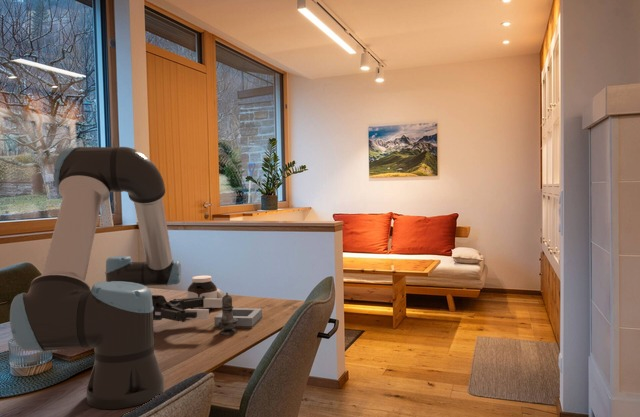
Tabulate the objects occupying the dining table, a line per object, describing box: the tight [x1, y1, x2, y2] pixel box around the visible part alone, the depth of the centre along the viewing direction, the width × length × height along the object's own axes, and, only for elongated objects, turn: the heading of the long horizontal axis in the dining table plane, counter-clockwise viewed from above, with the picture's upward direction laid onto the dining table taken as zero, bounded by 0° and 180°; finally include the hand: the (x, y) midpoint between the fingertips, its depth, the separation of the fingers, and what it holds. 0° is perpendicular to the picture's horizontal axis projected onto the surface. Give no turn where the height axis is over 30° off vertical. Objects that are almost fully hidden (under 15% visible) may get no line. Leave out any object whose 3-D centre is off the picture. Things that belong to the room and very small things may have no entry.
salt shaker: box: [218, 292, 238, 336], centre depth 147 cm, size 6×6×12 cm
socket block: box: [213, 307, 263, 329], centre depth 158 cm, size 12×12×3 cm
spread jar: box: [186, 274, 226, 312], centre depth 177 cm, size 12×11×12 cm
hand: (216, 308), depth 148 cm, fingers open, 13 cm apart
